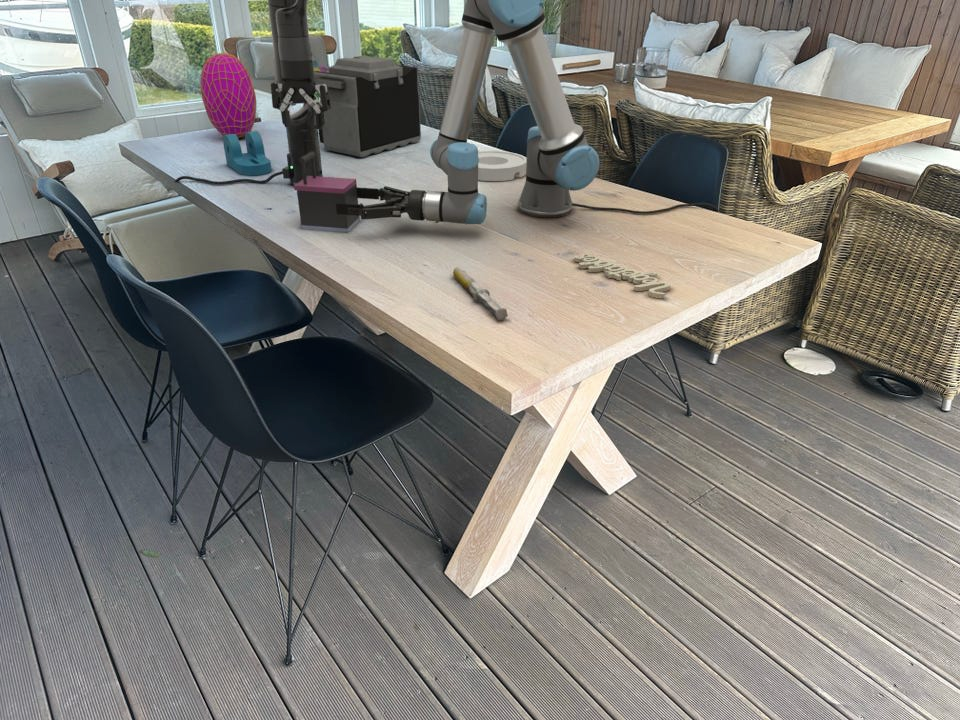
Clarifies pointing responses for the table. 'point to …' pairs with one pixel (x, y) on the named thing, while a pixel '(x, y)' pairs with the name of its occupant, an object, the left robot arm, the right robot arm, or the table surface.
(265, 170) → the camera mount
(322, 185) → the lid
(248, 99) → the decorative egg
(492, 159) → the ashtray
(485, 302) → the yellow and grey rod
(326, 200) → the chest
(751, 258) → the table surface
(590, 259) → the decorative sign
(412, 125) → the tool box
